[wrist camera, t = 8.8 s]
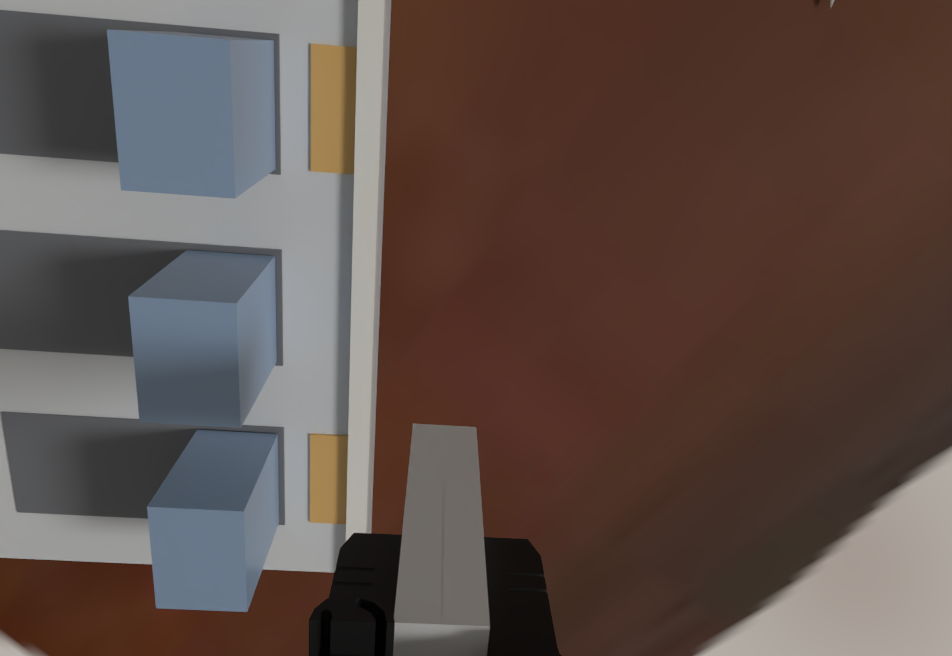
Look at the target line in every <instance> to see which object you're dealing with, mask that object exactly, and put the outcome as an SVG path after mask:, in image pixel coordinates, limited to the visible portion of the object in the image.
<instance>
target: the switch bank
mask: <svg viewBox="0 0 952 656" xmlns="http://www.w3.org/2000/svg"><path fill="white" fill-rule="evenodd" d="M390 18H391V0H0V558H20V559H43V560H65V561H88V562H110V563H133V564H152V557H151V546H150V535H149V523H148V512H147V506H148V505H149V503H150V501H151V500H152V498H153V497H154V495H155V494H156V492H157V491H158V489H159V488H160V486H161V485H162V483H163V481H164V480H165V478H166V477H167V475H168V474H169V472H170V471H171V469H172V468H173V466H174V465H175V463H176V462H177V460H178V458H179V457H180V455H181V454H182V452H183V451H184V449H185V448H186V446H187V445H188V443H189V442H190V440H191V439H192V437H193V435H194V434H195V432H196V431H197V430H214V431H232V432H250V433H268V434H278V483H279V524H278V527H277V530H276V532H275V535H274V538H273V541H272V544H271V546H270V549H269V552H268V555H267V558H266V561H265V563H264V566H263V569H267V570H290V571H312V572H335V570H336V564H337V559H338V555H339V551H340V548H341V547H342V545H343V544H344V543H345V542H346V541H347V540H348V539H349V538H350V537H351V535H352V534H353V533H371V525H372V498H373V471H374V445H375V418H376V391H377V365H378V338H379V311H380V284H381V258H382V231H383V204H384V178H385V151H386V124H387V98H388V71H389V44H390ZM107 30H136V31H165V32H183V33H195V34H206V35H218V36H230V37H241V38H253V39H264V40H274V90H275V160H276V169H275V170H274V171H272V172H271V173H269V174H268V175H267V176H265V177H264V178H263V179H261V180H260V181H259V182H257V183H256V184H254V185H253V186H252V187H250V188H249V189H248V190H246V191H245V192H243V193H242V194H241V195H239V196H238V197H237V198H235V199H233V198H219V197H206V196H192V195H179V194H165V193H151V192H138V191H124V190H121V185H120V173H119V162H118V151H117V139H116V128H115V117H114V105H113V94H112V83H111V72H110V60H109V49H108V38H107ZM186 250H194V251H209V252H223V253H238V254H252V255H267V256H275V285H276V351H277V362H276V364H275V366H274V368H273V369H272V371H271V373H270V375H269V377H268V379H267V381H266V382H265V384H264V386H263V388H262V390H261V392H260V393H259V395H258V397H257V399H256V401H255V403H254V404H253V406H252V408H251V410H250V412H249V414H248V416H247V417H246V419H245V421H244V423H243V425H242V427H241V428H232V427H214V426H196V425H178V424H160V423H142V422H139V412H138V401H137V390H136V378H135V367H134V356H133V345H132V334H131V323H130V311H129V300H128V296H129V295H131V294H132V293H133V292H134V291H136V290H137V289H138V288H139V287H141V286H142V285H143V284H144V283H146V282H147V281H148V280H149V279H151V278H152V277H153V276H155V275H156V274H157V273H158V272H160V271H161V270H162V269H163V268H165V267H166V266H167V265H168V264H170V263H171V262H172V261H173V260H175V259H176V258H177V257H179V256H180V255H181V254H182V253H184V252H185V251H186Z"/></svg>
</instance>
